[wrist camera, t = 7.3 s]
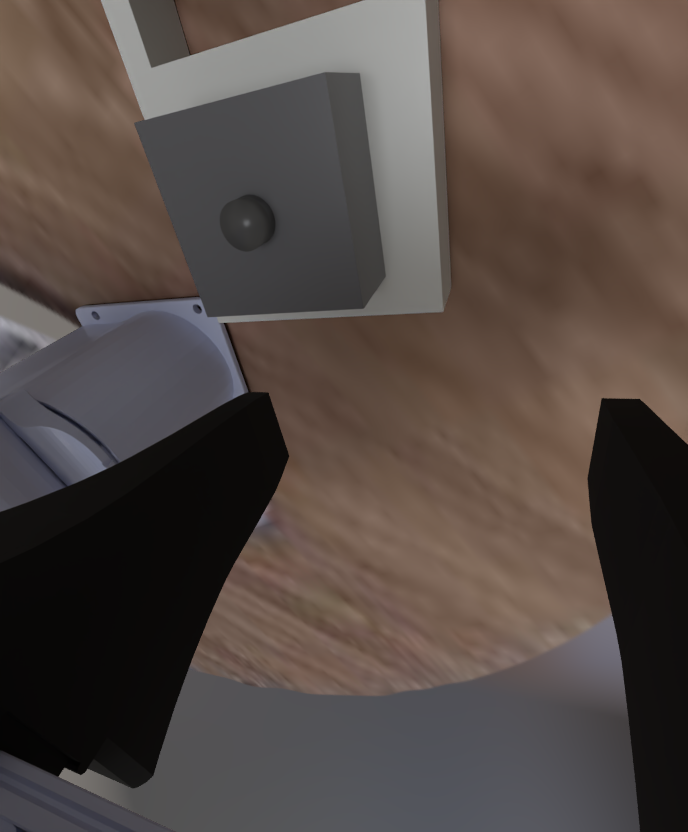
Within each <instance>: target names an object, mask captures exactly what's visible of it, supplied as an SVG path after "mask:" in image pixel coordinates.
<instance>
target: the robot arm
mask: <svg viewBox="0 0 688 832" xmlns="http://www.w3.org/2000/svg"><path fill="white" fill-rule="evenodd" d="M197 305H199V306H200V307H201V309H202V311H201V310H200V309H199V308H198V307H197ZM98 314H99V315H98ZM76 315H77V317H78V319H79V321H80V323H81V325H82V327H80V328H78V329H77V330H75V331H73V332H71V333H70V334H68V335H66V336H64V337H62V338H61V339H59V340H57V341H55V342H54V343H52V344H50V345H48V346H47V347H45V348H43V349H41V350H39V351H38V352H36V353H34V354H32V355H31V356H29V357H27V358H25V359H24V360H22V361H20V362H18V363H16V364H15V365H13V366H11V367H9V368H8V369H6V370H4V371H2V372H1V373H0V832H175V831H173V830H171V829H169V828H167V827H165V826H163V825H160V824H158V823H156V822H154V821H152V820H150V819H147V818H145V817H143V816H141V815H139V814H137V813H134V812H132V811H130V810H128V809H126V808H124V807H122V806H119V805H117V804H115V803H113V802H111V801H109V800H107V799H105V798H102V797H100V796H98V795H96V794H94V793H91V792H89V791H87V790H85V789H83V788H81V787H79V786H77V785H74V784H72V783H70V782H68V781H66V780H63V779H61V778H59V777H58V776H59V775H60V773H61V772H62V770H63V769H64V768H67V769H69V770H71V771H73V772H75V773H78V774H80V775H82V774H83V773H85V772H86V770H87V769H90V770H92V771H94V772H97V773H99V774H101V775H104V776H106V777H108V778H110V779H113V780H115V781H117V782H119V783H122V784H124V785H126V786H128V787H131V788H136V787H139V786H141V785H142V784H144V783H146V782H147V781H148V780H149V779H150V778H151V777H152V776H153V775H154V771H155V768H156V764H157V761H158V758H159V754H160V751H161V748H162V745H163V742H164V739H165V736H166V732H167V729H168V726H169V723H170V720H171V717H172V714H173V711H174V708H175V705H176V702H177V699H178V696H179V694H180V691H181V688H182V685H183V683H184V680H185V677H186V674H187V672H188V669H189V666H190V663H191V661H192V658H193V655H194V653H195V651H196V648H197V646H198V643H199V641H200V638H201V636H202V633H203V631H204V628H205V626H206V623H207V621H208V618H209V616H210V614H211V612H212V609H213V607H214V605H215V603H216V600H217V598H218V596H219V594H220V591H221V589H222V587H223V585H224V582H225V580H226V578H227V576H228V575H229V573H230V571H231V569H232V567H233V565H234V563H235V561H236V560H237V558H238V556H239V554H240V553H241V551H242V549H243V547H244V546H245V544H246V542H247V541H248V539H249V537H250V535H251V534H252V532H253V530H254V528H255V527H256V525H257V523H258V521H259V520H260V518H261V516H262V514H263V513H264V511H265V509H266V507H267V505H268V504H269V502H270V500H271V498H272V496H273V495H274V493H275V491H276V489H277V486H278V484H279V482H280V479H281V477H282V474H283V471H284V469H285V466H286V463H287V461H288V458H289V454H288V451H287V448H286V445H285V442H284V439H283V436H282V433H281V430H280V427H279V423H278V420H277V417H276V414H275V411H274V408H273V405H272V402H271V399H270V396H269V393H265V392H248V389H247V387H246V384H245V381H244V378H243V375H242V373H241V370H240V367H239V364H238V361H237V359H236V356H235V353H234V350H233V348H232V345H231V342H230V339H229V336H228V334H227V331H226V328H225V325H224V323H219V322H218V319H217V317H207V314H206V312H205V309H204V306H203V304H202V301H201V298H200V297H191V298H178V299H165V300H152V301H139V302H126V303H113V304H100V305H86V306H81V307H79V308H77V309H76ZM588 489H589V501H590V512H591V522H592V528H593V532H594V537H595V542H596V546H597V550H598V555H599V559H600V564H601V568H602V572H603V577H604V581H605V585H606V590H607V594H608V599H609V603H610V607H611V612H612V616H613V620H614V624H615V629H616V633H617V639H618V644H619V649H620V655H621V660H622V668H623V676H624V684H625V693H626V701H627V709H628V717H629V726H630V735H631V745H632V753H633V763H634V772H635V782H636V792H637V803H638V813H639V824H640V832H688V444H687V443H685V442H684V441H683V440H682V439H681V438H680V437H679V436H678V435H677V434H676V433H675V432H674V431H673V430H672V429H671V428H670V427H669V426H668V425H666V424H665V423H664V422H663V421H662V420H661V419H660V418H659V417H658V416H657V415H656V414H655V413H654V412H653V411H652V410H651V409H650V408H649V407H648V406H647V405H646V404H645V403H644V402H642V401H641V400H640V399H607V398H602V400H601V406H600V411H599V417H598V423H597V428H596V434H595V440H594V445H593V451H592V457H591V462H590V468H589V474H588Z"/></svg>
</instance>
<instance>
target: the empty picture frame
mask: <svg viewBox="0 0 688 832" xmlns="http://www.w3.org/2000/svg"><path fill="white" fill-rule="evenodd" d="M101 2H102V5H103V7H104V10H105V13H106V16H107V18H108V21H109V24H110V27H111V29H112V32H113V35H114V38H115V40H116V43H117V46H118V48H119V51H120V54H121V57H122V59H123V62H124V65H125V68H126V70H127V73H128V76H129V79H130V81H131V84H132V87H133V90H134V92H135V95H136V98H137V100H138V103H139V106H140V109H141V111H142V114H143V117H144V120H143V121H139V122H136V123H134V124H135V126H136V129H137V132H138V134H139V137H140V140H141V142H142V145H143V148H144V150H145V153H146V156H147V158H148V161H149V164H150V166H151V169H152V171H153V174H154V177H155V179H156V182H157V185H158V187H159V190H160V193H161V195H162V198H163V201H164V203H165V206H166V208H167V211H168V214H169V216H170V219H171V222H172V224H173V227H174V230H175V232H176V235H177V238H178V240H179V243H180V246H181V248H182V251H183V253H184V256H185V259H186V261H187V264H188V267H189V269H190V272H191V275H192V277H193V280H194V283H195V285H196V288H197V291H198V293H199V296H200V298H201V301H202V304H203V306H204V309H205V312H206V314H207V317H217V319H218V322H219V323H230V322H251V321H271V320H291V319H311V318H332V317H352V316H372V315H393V314H413V313H433V312H443V311H444V308H445V305H446V302H447V299H448V296H449V293H450V290H451V267H450V245H449V223H448V200H447V178H446V156H445V134H444V112H443V90H442V68H441V45H440V23H439V1H438V0H364V1H360V2H357V3H354V4H351V5H348V6H345V7H342V8H338V9H335V10H332V11H329V12H326V13H323V14H320V15H316V16H313V17H310V18H307V19H304V20H301V21H298V22H294V23H291V24H288V25H285V26H282V27H279V28H276V29H272V30H269V31H266V32H263V33H260V34H257V35H254V36H250V37H247V38H244V39H241V40H238V41H235V42H232V43H228V44H225V45H222V46H219V47H216V48H213V49H210V50H206V51H203V52H200V53H197V54H194V55H191V56H190V53H189V50H188V47H187V43H186V40H185V36H184V33H183V30H182V26H181V23H180V20H179V16H178V13H177V9H176V6H175V3H174V0H101Z"/></svg>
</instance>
